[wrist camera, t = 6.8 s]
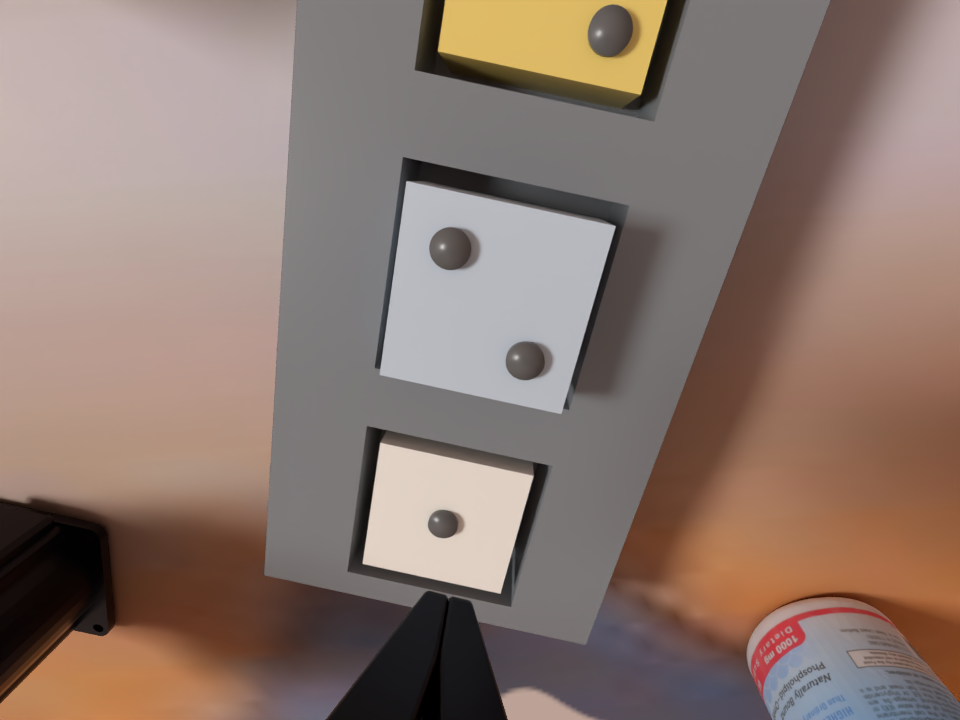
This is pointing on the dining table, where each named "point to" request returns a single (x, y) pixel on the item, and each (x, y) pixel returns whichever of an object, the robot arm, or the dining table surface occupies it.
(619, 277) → the button panel
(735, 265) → the dining table surface
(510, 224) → the button two
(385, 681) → the robot arm
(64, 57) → the dining table surface
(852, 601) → the pill bottle
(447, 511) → the button one
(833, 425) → the dining table surface
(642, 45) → the button three
